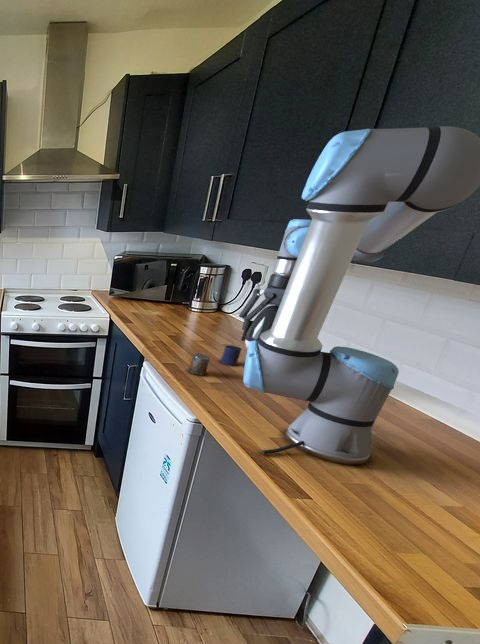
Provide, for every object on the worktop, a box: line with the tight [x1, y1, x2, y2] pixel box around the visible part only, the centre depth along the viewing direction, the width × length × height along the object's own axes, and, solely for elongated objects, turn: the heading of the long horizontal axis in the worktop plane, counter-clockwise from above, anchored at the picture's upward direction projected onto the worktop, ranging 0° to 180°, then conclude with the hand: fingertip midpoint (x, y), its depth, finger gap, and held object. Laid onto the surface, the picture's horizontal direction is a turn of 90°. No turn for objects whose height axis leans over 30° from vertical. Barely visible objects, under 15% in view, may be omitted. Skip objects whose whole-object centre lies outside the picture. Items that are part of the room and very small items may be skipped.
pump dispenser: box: [244, 305, 279, 349], centre depth 127 cm, size 10×10×15 cm
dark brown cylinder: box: [188, 353, 211, 377], centre depth 135 cm, size 5×5×6 cm
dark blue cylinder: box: [220, 345, 242, 367], centre depth 145 cm, size 5×5×6 cm
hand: (261, 344), depth 129 cm, fingers closed on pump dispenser, 10 cm apart
